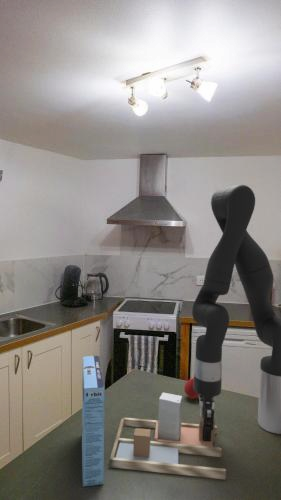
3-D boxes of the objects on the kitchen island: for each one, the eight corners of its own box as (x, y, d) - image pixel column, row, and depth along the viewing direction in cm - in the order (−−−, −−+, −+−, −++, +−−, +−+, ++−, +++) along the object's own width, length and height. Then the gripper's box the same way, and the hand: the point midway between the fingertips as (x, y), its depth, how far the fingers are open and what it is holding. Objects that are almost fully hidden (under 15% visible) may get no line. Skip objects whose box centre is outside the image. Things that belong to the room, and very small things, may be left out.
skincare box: (181, 436, 93) (183, 395, 92) (178, 445, 89) (180, 403, 88) (160, 431, 95) (162, 391, 94) (156, 440, 91) (158, 398, 90)
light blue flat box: (103, 485, 75) (105, 387, 73) (80, 487, 74) (82, 388, 73) (99, 433, 94) (100, 355, 93) (81, 434, 93) (82, 355, 92)
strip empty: (177, 452, 86) (178, 427, 86) (178, 470, 80) (179, 444, 79) (119, 446, 88) (120, 422, 88) (115, 463, 81) (115, 437, 81)
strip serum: (211, 433, 95) (212, 411, 94) (215, 452, 86) (216, 428, 86) (156, 428, 97) (156, 406, 96) (154, 446, 88) (155, 422, 88)
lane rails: (216, 432, 96) (216, 425, 96) (225, 479, 77) (226, 471, 77) (121, 423, 99) (122, 417, 99) (109, 467, 80) (109, 459, 80)
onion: (200, 395, 117) (201, 373, 117) (201, 404, 112) (202, 381, 111) (183, 394, 118) (184, 372, 117) (184, 402, 112) (185, 379, 112)
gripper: (225, 387, 82) (222, 452, 83) (218, 364, 97) (216, 420, 97) (195, 385, 83) (193, 449, 84) (192, 362, 97) (190, 417, 98)
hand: (205, 433), depth 91 cm, fingers open, 5 cm apart
